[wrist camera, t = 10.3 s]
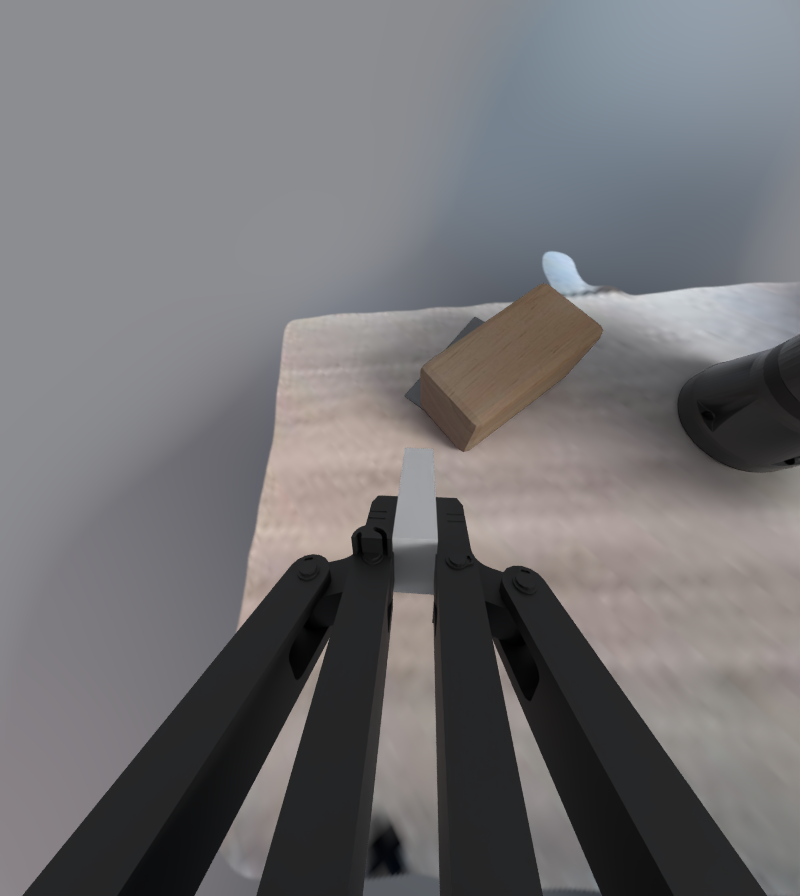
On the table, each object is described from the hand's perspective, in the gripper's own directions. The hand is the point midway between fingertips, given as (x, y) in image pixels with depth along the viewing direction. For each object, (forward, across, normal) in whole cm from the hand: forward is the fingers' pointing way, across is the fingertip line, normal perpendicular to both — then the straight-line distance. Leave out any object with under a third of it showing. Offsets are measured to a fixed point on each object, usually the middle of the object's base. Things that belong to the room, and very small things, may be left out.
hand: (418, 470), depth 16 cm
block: (+20, +2, -4) cm, 21 cm away
